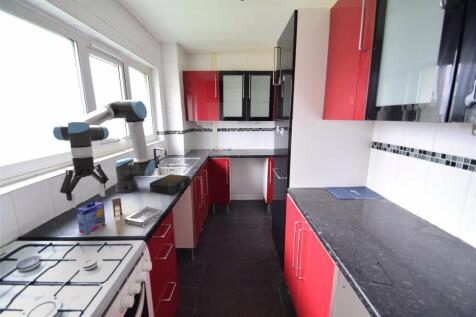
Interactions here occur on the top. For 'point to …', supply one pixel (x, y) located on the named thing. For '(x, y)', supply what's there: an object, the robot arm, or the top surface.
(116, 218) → the door edge board
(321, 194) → the top surface
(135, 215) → the index tray
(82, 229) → the ink cartridge box
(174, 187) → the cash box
